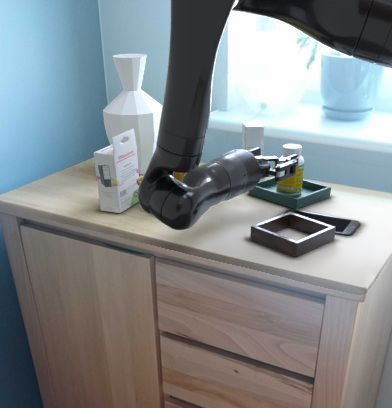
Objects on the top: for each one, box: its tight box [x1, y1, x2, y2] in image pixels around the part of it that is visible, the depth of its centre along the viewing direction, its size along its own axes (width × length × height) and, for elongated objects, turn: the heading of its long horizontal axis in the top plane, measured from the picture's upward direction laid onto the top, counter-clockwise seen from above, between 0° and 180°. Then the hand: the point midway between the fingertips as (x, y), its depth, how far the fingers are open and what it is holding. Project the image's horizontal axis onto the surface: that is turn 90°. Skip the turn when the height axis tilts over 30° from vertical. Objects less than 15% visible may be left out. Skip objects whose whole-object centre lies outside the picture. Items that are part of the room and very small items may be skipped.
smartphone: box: [282, 208, 361, 237], centre depth 107 cm, size 7×15×1 cm, turn 61°
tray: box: [248, 176, 332, 210], centre depth 119 cm, size 13×11×2 cm
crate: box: [249, 212, 336, 258], centre depth 99 cm, size 11×11×2 cm
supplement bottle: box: [276, 143, 305, 196], centre depth 117 cm, size 5×5×10 cm
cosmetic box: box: [241, 120, 265, 181], centre depth 127 cm, size 6×4×12 cm
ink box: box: [92, 129, 140, 214], centre depth 112 cm, size 9×5×15 cm, turn 154°
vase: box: [102, 53, 163, 175], centre depth 130 cm, size 14×14×25 cm
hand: (277, 156), depth 110 cm, fingers open, 8 cm apart
